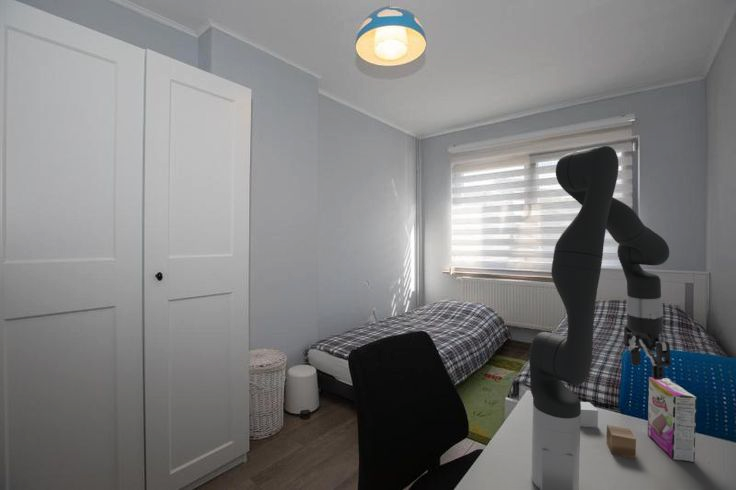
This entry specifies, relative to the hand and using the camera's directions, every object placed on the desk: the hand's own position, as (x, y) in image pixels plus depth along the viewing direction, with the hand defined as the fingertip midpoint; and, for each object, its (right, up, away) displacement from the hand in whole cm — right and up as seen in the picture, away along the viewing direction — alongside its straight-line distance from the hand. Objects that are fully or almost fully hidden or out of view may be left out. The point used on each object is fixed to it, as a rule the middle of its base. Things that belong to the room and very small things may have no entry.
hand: (646, 371), depth 94 cm
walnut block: (-10, -19, -4) cm, 22 cm away
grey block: (-11, -18, +9) cm, 23 cm away
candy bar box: (+3, -19, -3) cm, 19 cm away
